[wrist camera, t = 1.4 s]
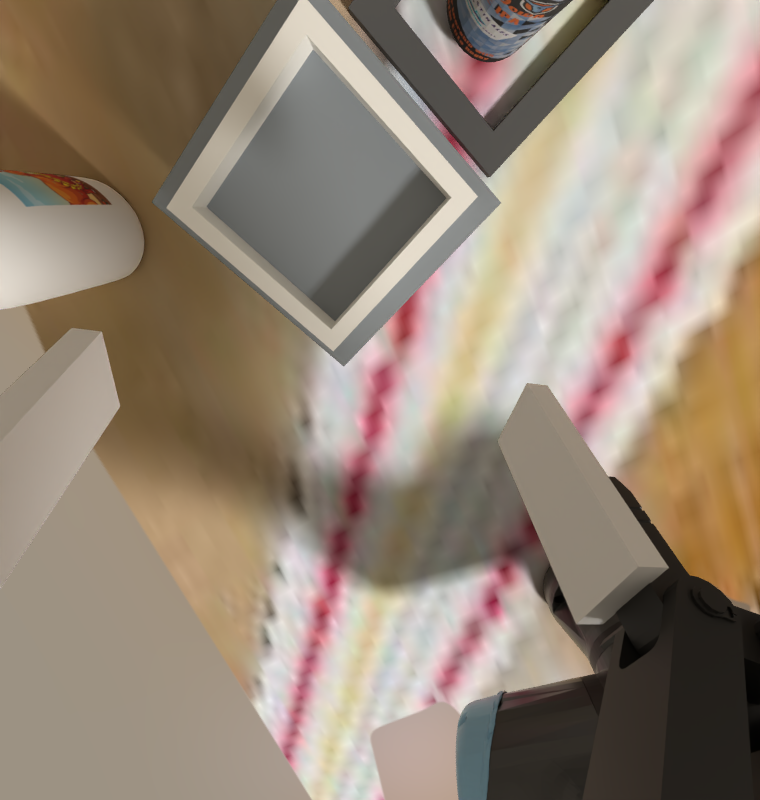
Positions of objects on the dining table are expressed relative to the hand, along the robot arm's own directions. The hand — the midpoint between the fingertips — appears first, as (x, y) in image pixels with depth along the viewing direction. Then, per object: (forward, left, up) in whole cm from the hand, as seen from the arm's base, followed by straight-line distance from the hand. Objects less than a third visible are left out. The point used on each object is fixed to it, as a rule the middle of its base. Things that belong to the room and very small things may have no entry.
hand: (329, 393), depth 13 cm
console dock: (+5, -3, -24) cm, 24 cm away
